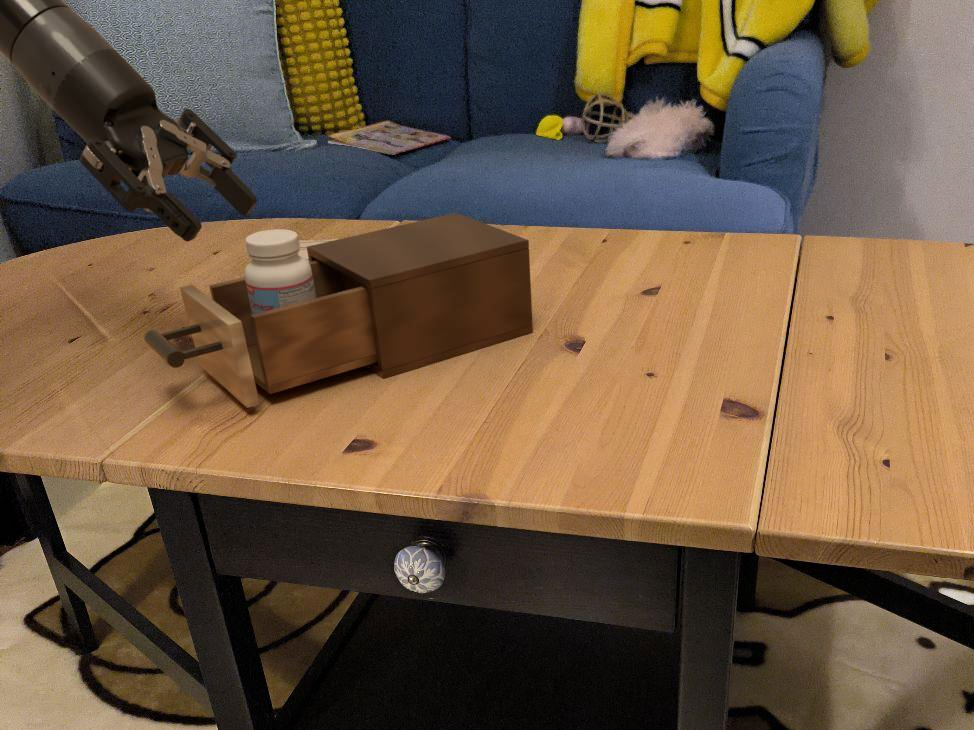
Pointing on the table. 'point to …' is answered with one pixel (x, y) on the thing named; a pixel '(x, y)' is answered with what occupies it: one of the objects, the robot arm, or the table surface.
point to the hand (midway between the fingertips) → (224, 221)
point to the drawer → (274, 335)
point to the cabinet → (436, 288)
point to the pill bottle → (277, 271)
